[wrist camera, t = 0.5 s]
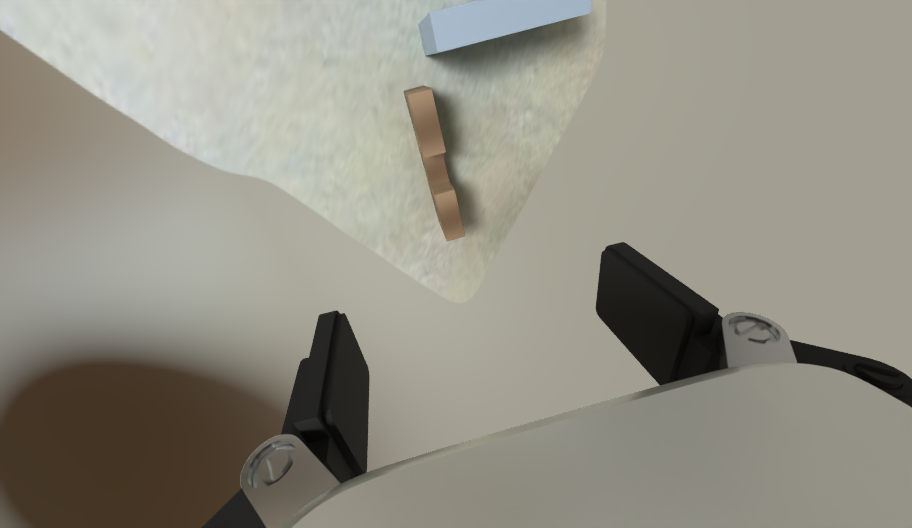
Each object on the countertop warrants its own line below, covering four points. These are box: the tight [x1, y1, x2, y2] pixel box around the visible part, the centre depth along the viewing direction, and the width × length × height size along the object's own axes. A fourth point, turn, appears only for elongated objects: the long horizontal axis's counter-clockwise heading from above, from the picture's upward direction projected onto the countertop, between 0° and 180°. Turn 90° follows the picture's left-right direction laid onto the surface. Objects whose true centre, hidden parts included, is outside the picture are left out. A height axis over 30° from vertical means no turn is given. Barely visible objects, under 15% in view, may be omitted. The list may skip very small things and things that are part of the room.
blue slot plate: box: [418, 0, 591, 56], centre depth 27 cm, size 12×2×8 cm, turn 103°
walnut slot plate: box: [404, 86, 465, 241], centre depth 33 cm, size 14×2×6 cm, turn 13°
